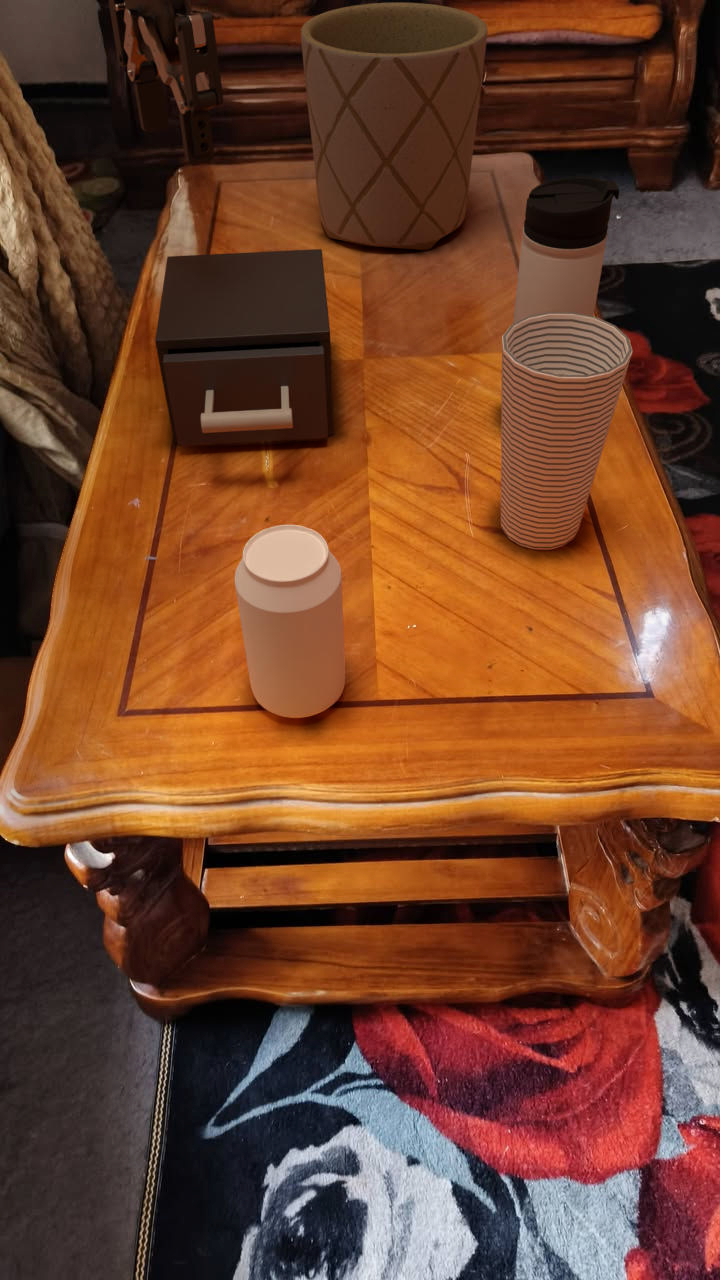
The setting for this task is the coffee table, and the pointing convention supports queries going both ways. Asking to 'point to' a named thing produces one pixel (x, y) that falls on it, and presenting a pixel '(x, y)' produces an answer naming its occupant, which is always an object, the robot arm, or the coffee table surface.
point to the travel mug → (563, 246)
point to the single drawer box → (244, 306)
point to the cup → (555, 420)
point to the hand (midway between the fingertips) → (177, 145)
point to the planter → (393, 119)
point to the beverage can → (292, 620)
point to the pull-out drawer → (247, 393)
